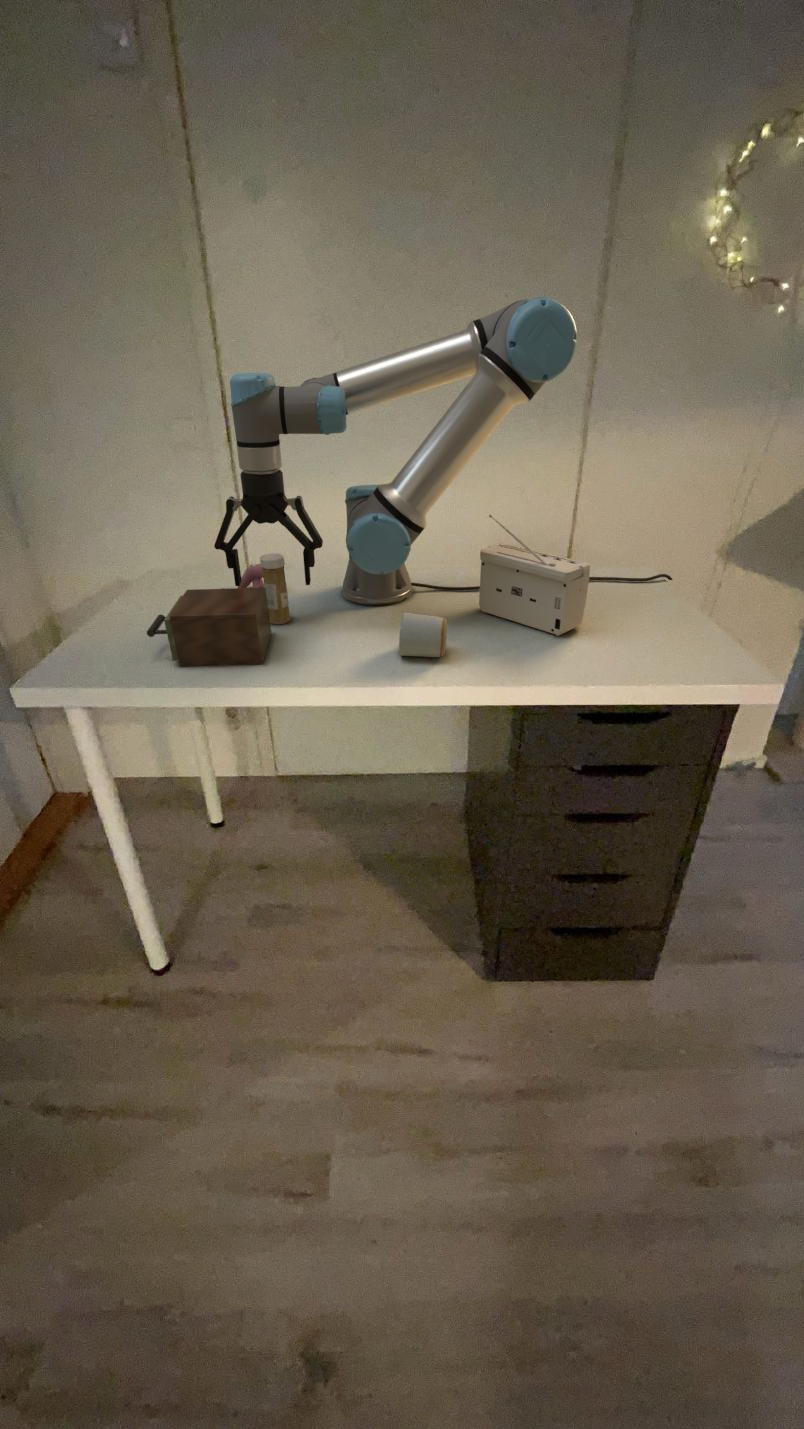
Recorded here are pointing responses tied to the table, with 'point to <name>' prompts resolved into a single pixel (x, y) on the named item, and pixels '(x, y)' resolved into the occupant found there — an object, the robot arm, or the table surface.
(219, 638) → the cabinet
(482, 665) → the table surface
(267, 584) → the sprinkles bottle
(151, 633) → the drawer
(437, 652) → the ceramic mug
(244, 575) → the pink curved ring
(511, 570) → the radio
